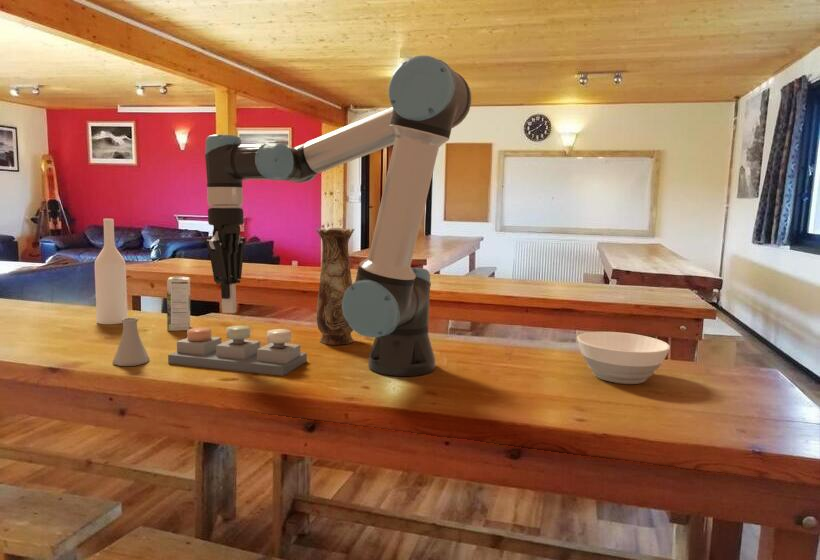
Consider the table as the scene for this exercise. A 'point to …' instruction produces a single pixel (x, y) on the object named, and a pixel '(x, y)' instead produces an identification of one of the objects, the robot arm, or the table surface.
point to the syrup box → (178, 303)
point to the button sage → (238, 334)
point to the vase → (334, 286)
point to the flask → (130, 346)
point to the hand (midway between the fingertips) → (229, 312)
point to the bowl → (622, 355)
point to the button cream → (279, 337)
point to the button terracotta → (199, 334)
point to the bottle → (110, 280)
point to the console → (238, 356)
